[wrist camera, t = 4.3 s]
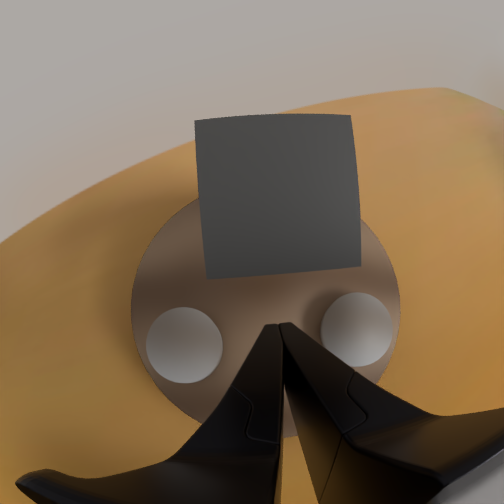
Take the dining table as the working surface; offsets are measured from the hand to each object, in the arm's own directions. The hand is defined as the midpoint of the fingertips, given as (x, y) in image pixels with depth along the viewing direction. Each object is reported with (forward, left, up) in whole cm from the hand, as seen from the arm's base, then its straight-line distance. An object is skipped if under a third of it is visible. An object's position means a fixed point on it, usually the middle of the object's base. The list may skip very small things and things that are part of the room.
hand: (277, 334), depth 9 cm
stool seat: (+2, +2, -8) cm, 8 cm away
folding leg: (+7, +4, -4) cm, 9 cm away
